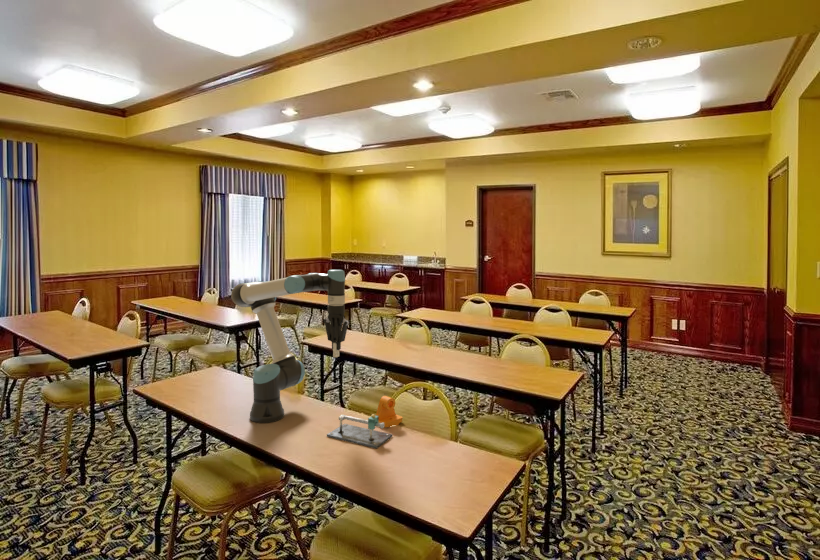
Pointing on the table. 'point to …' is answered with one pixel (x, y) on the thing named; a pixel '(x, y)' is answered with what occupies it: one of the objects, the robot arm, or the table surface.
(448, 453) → the table surface
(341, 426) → the dividers bar
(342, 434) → the bolt plate
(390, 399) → the bracket
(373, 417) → the sliding leg
